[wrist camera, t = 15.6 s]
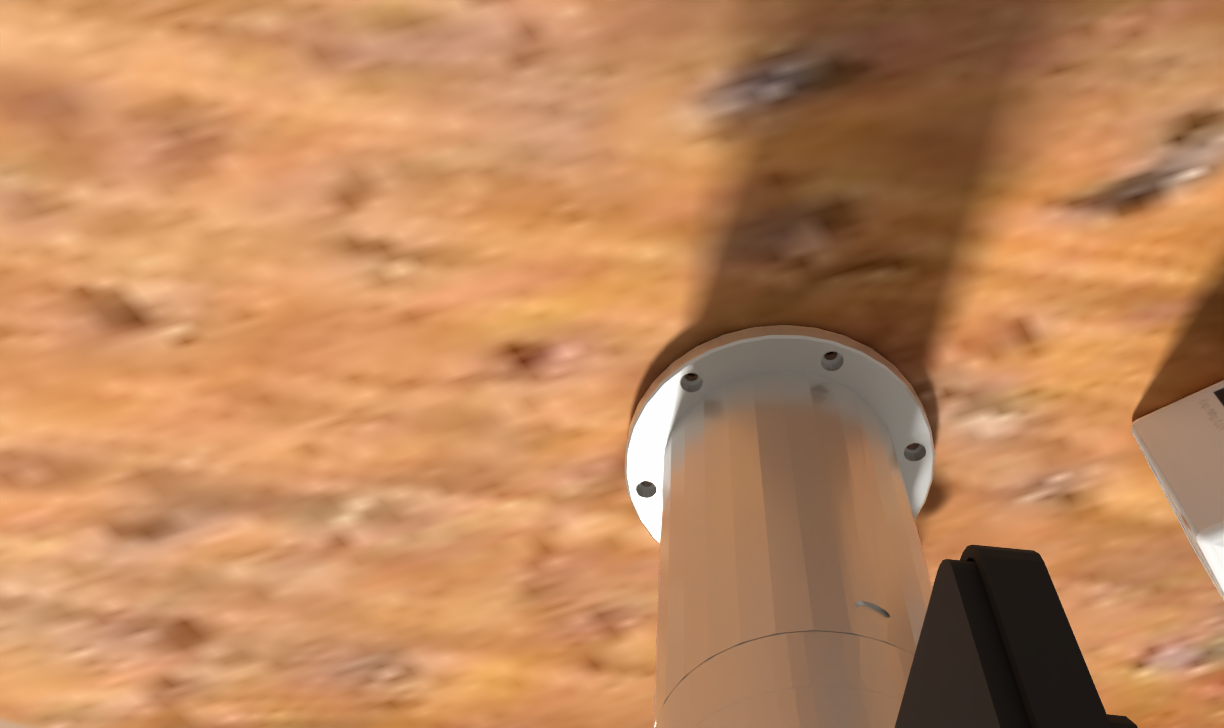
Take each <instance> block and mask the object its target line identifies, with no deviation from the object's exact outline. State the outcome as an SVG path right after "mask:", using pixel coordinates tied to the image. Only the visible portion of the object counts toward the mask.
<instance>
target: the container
mask: <svg viewBox="0 0 1224 728" xmlns="http://www.w3.org/2000/svg"><path fill="white" fill-rule="evenodd" d="M1131 429H1132V434H1133V436H1134V437H1135V439H1136V441H1137V443H1138V445H1139V447H1140V449H1141V451H1142V453H1143V454H1144V456H1145V458H1146V460H1147V462H1148V464H1149V466H1150V468H1151V469H1152V471H1153V473H1154V475H1155V477H1156V479H1157V481H1158V483H1159V485H1160V486H1161V488H1162V490H1163V492H1164V494H1165V496H1166V498H1167V500H1168V502H1169V503H1170V505H1171V507H1172V509H1173V511H1174V513H1175V515H1176V517H1177V519H1178V520H1179V522H1180V524H1181V526H1182V528H1183V530H1184V532H1185V534H1186V536H1187V537H1188V539H1189V541H1190V543H1191V545H1192V547H1193V549H1194V551H1195V552H1196V554H1197V556H1198V557H1199V559H1200V561H1201V562H1202V564H1203V566H1204V568H1205V569H1206V571H1207V573H1208V574H1209V576H1210V578H1211V579H1212V581H1213V583H1214V585H1215V586H1216V588H1217V590H1218V591H1219V593H1220V595H1221V596H1222V598H1223V600H1224V380H1222V381H1220V382H1218V383H1216V384H1214V385H1211V386H1209V387H1207V388H1205V389H1203V390H1200V391H1198V392H1196V393H1194V394H1191V395H1189V396H1187V397H1185V398H1183V399H1180V400H1178V401H1176V402H1174V403H1172V404H1169V405H1167V406H1165V407H1163V408H1160V409H1158V410H1156V411H1154V412H1152V413H1149V414H1147V415H1145V416H1143V417H1141V418H1138V419H1136V420H1135V421H1134V422H1133V423H1132V425H1131Z"/></svg>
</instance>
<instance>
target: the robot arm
mask: <svg viewBox="0 0 1224 728" xmlns="http://www.w3.org/2000/svg"><path fill="white" fill-rule="evenodd" d="M831 351H832V352H835V353H834V354H831V355H827V354H825V353H828V352H831ZM688 373H696V375H693V376H689V375H687V374H688ZM934 461H935V450H934V444H933V437H932V431H931V427H930V424H929V421H928V418H927V415H926V412H925V409H924V407H923V405H922V403H921V401H920V399H919V398H918V396H917V394H916V392H915V390H914V389H913V387H912V385H911V384H910V383H909V381H908V380H907V379H906V378H905V377H904V376H903V375H902V374H901V372H900V371H899V370H898V369H897V368H896V367H895V366H894V365H893V364H892V363H891V362H889V361H888V360H887V359H885V358H884V357H883V356H881V355H880V354H879V353H877V352H876V351H874V350H873V349H872V348H870V347H868V346H866V345H864V344H862V343H859V342H857V341H855V340H853V339H851V338H849V337H847V336H845V335H841V334H837V333H834V332H830V331H826V330H823V329H819V328H814V327H804V326H793V325H775V326H761V327H752V328H748V329H744V330H740V331H736V332H732V333H728V334H724V335H722V336H719V337H717V338H715V339H712V340H710V341H708V342H705V343H703V344H701V345H699V346H696V347H695V348H693V349H692V350H690V351H689V352H687V353H686V354H684V355H683V356H681V357H680V358H678V359H677V360H675V361H674V362H673V363H672V364H671V365H670V366H668V367H667V368H666V369H665V370H664V371H663V372H662V373H661V374H660V375H659V376H658V377H657V378H656V379H655V380H654V381H653V382H652V384H651V385H650V387H649V388H648V390H647V391H646V393H645V394H644V396H643V397H642V399H641V400H640V402H639V403H638V406H637V408H636V411H635V413H634V416H633V418H632V421H631V423H630V426H629V431H628V437H627V444H626V450H625V478H626V484H627V490H628V494H629V497H630V499H631V502H632V504H633V506H634V509H635V511H636V513H637V515H638V518H639V519H640V521H641V522H642V523H643V525H644V526H645V528H646V529H647V530H648V532H649V533H650V535H651V536H652V537H653V538H654V539H655V540H656V541H657V542H658V543H659V544H660V549H659V578H658V607H657V637H656V666H655V695H654V725H653V728H1138V727H1137V726H1136V724H1134V723H1133V722H1132V721H1131V720H1130V719H1128V718H1127V717H1126V716H1117V715H1107V714H1106V712H1105V709H1104V707H1103V705H1102V702H1101V700H1100V697H1099V695H1098V692H1097V690H1096V688H1095V685H1094V683H1093V680H1092V678H1091V675H1090V673H1089V670H1088V668H1087V666H1086V663H1085V661H1084V658H1083V656H1082V653H1081V651H1080V649H1079V646H1078V644H1077V641H1076V639H1075V636H1074V634H1073V631H1072V629H1071V627H1070V624H1069V622H1068V619H1067V617H1066V614H1065V612H1064V609H1063V607H1062V605H1061V602H1060V600H1059V597H1058V595H1057V592H1056V590H1055V588H1054V585H1053V583H1052V580H1051V578H1050V575H1049V573H1048V570H1047V568H1046V566H1045V563H1044V561H1043V559H1042V558H1041V556H1040V554H1039V553H1037V552H1035V551H1031V550H1021V549H1011V548H1000V547H990V546H980V545H970V546H967V548H966V549H965V550H964V552H963V554H962V556H961V559H960V560H950V559H945V560H943V561H942V563H941V564H940V566H939V569H938V572H937V575H936V578H935V582H934V586H932V583H931V579H930V575H929V572H928V568H927V564H926V560H925V557H924V553H923V549H922V546H921V542H920V538H919V535H918V531H917V527H916V524H915V519H916V517H917V515H918V514H919V512H920V510H921V509H922V507H923V505H924V503H925V502H926V499H927V495H928V492H929V489H930V486H931V483H932V480H933V472H934Z"/></svg>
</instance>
